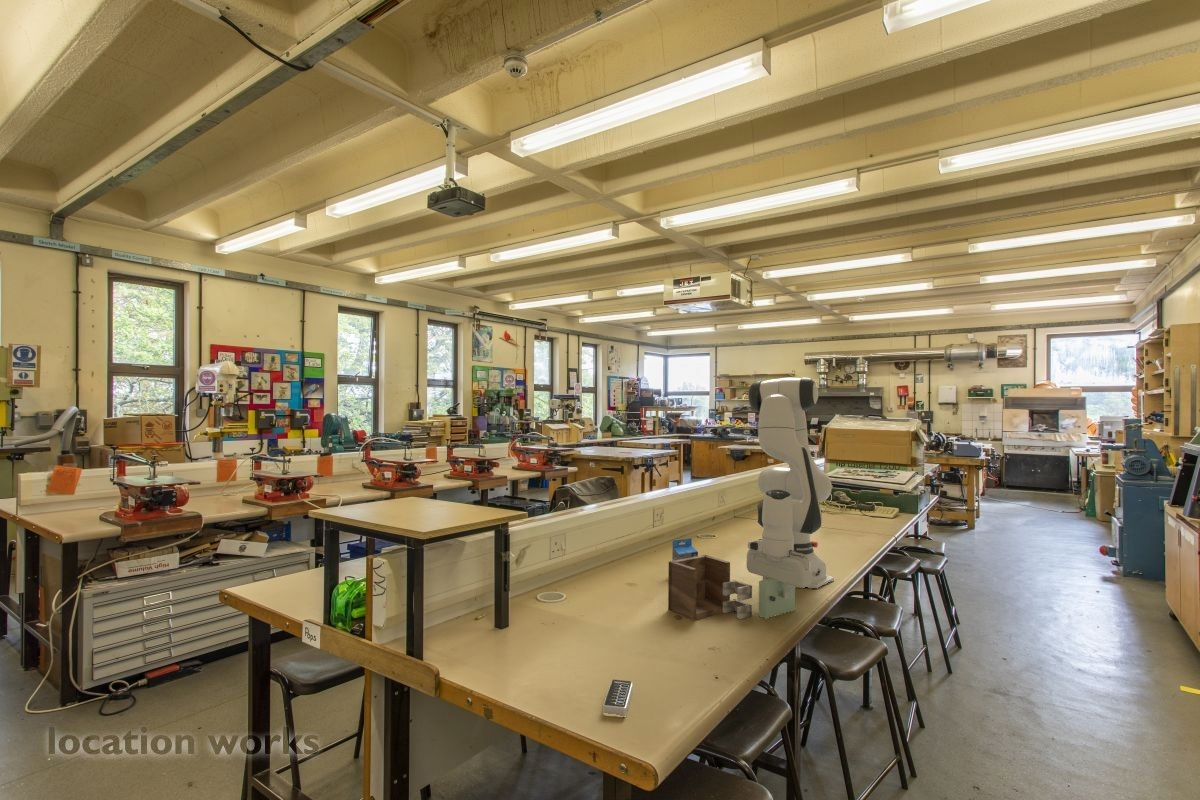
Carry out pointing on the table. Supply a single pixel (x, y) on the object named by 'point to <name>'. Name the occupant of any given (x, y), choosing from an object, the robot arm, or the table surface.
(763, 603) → the door
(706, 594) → the cabinet
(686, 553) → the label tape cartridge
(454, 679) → the table surface
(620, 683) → the multiport hub
